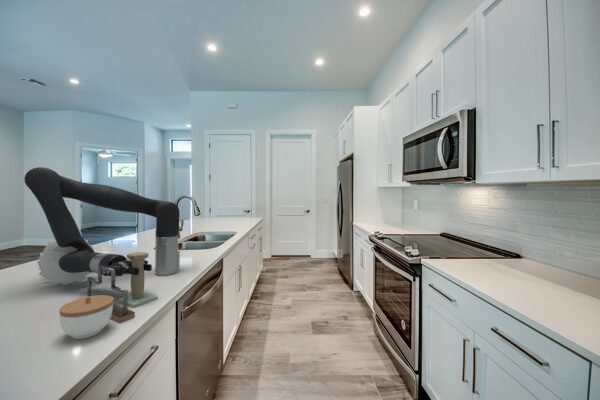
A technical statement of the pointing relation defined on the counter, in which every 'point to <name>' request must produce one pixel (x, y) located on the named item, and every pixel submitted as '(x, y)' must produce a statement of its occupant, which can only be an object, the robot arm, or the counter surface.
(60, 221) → the robot arm
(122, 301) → the green pad
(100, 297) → the lidded jar
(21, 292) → the counter surface
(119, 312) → the bent wire
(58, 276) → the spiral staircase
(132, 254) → the handle
